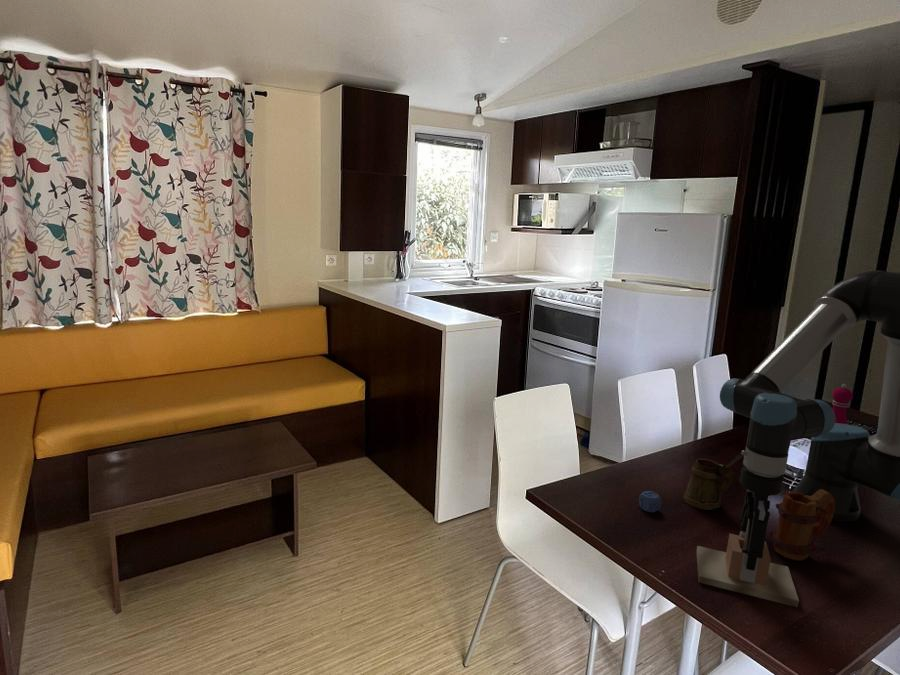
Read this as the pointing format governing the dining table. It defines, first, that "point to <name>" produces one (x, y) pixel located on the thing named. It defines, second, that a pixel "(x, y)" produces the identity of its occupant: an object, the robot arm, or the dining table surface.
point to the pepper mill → (841, 403)
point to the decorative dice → (649, 501)
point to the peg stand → (716, 575)
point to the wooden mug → (708, 483)
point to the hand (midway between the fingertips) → (744, 570)
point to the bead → (736, 557)
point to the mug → (801, 523)
